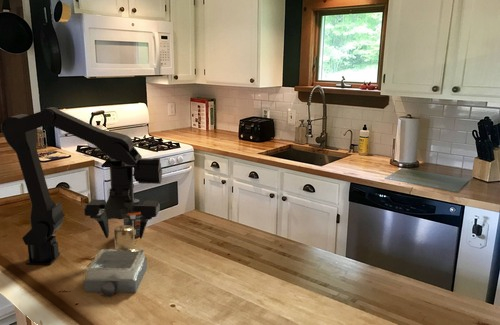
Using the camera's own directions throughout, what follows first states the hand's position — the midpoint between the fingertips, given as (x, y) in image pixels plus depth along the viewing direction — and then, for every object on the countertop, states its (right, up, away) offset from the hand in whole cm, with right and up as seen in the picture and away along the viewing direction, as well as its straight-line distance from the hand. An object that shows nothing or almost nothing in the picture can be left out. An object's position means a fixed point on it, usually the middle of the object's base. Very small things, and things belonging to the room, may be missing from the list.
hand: (124, 237), depth 112 cm
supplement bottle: (-2, -2, +18) cm, 18 cm away
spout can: (0, -6, +2) cm, 6 cm away
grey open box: (+1, -9, -9) cm, 13 cm away
